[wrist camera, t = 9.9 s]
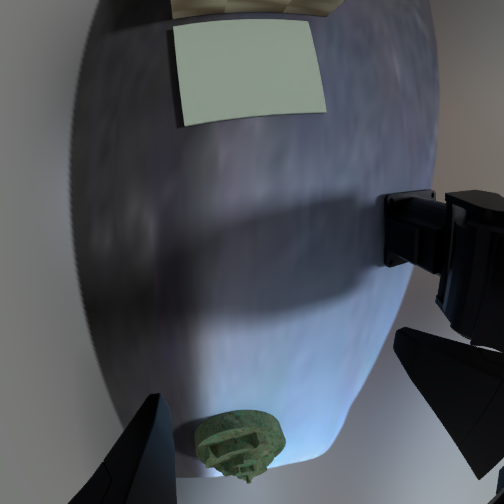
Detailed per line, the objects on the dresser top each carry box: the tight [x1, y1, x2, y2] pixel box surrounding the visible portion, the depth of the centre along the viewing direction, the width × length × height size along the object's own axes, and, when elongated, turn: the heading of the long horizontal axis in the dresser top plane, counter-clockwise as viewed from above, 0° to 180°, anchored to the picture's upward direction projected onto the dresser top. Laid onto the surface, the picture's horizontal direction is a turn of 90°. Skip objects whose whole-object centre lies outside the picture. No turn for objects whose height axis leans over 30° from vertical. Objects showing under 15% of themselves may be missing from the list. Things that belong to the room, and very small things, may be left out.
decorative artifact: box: [194, 410, 286, 483], centre depth 23 cm, size 10×7×10 cm
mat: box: [173, 19, 327, 127], centre depth 16 cm, size 10×8×1 cm
